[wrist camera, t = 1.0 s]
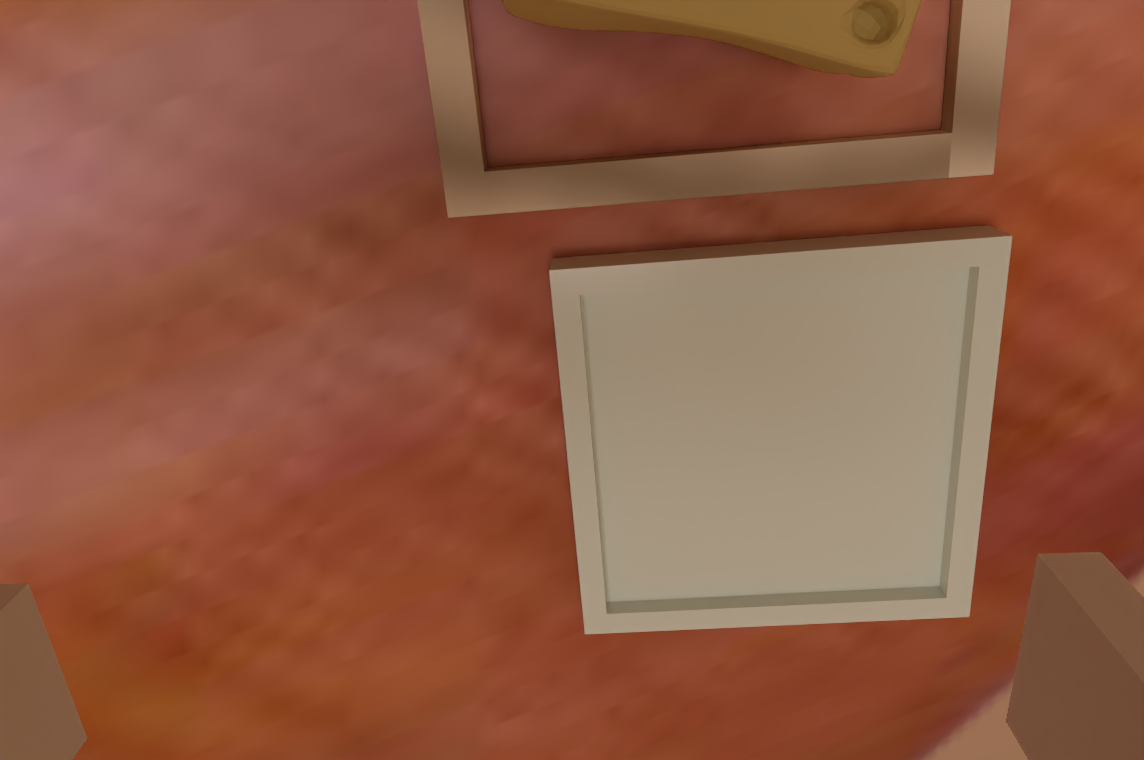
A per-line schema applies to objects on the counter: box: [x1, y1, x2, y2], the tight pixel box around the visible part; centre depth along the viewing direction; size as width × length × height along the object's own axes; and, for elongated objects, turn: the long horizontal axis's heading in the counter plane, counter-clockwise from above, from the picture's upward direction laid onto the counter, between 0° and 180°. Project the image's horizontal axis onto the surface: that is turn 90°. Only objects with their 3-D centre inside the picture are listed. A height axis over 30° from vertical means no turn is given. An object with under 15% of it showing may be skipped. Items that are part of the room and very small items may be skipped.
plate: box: [549, 225, 1012, 634], centre depth 33 cm, size 16×16×2 cm
